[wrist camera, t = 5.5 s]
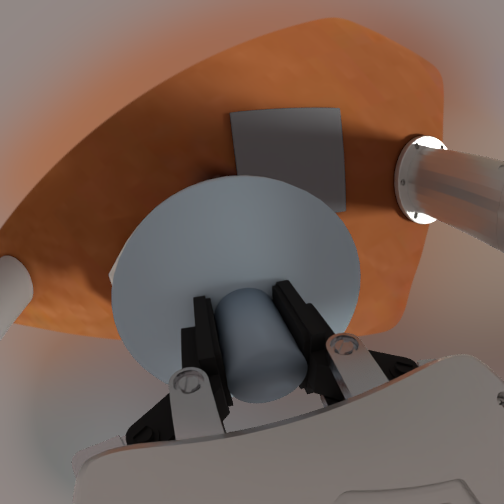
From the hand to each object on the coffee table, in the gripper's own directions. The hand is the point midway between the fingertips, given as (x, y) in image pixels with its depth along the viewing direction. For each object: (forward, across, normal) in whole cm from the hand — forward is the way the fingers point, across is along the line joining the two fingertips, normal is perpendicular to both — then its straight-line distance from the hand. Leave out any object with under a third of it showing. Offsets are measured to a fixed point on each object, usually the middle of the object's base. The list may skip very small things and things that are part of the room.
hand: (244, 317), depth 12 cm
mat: (+18, -9, -5) cm, 21 cm away
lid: (+1, 0, 0) cm, 1 cm away
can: (+20, +29, +3) cm, 35 cm away
